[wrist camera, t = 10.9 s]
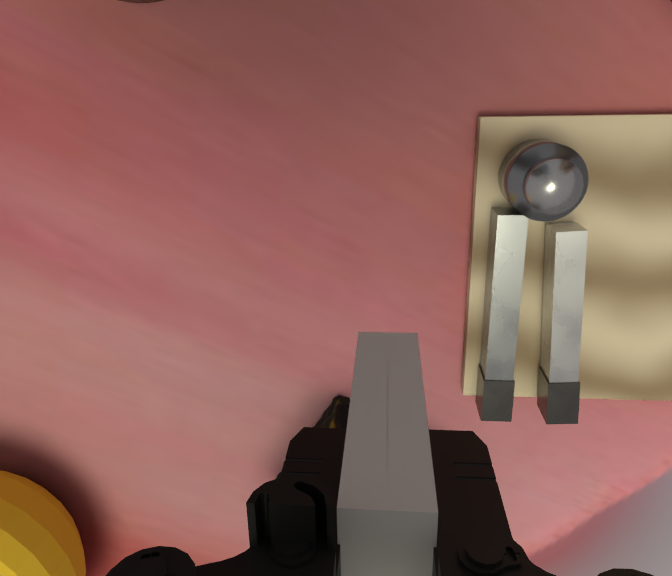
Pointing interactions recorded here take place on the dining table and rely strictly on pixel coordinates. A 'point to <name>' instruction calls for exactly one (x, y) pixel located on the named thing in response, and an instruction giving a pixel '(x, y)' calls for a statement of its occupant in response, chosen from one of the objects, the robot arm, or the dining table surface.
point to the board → (589, 252)
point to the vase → (36, 532)
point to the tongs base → (510, 274)
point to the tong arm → (559, 287)
